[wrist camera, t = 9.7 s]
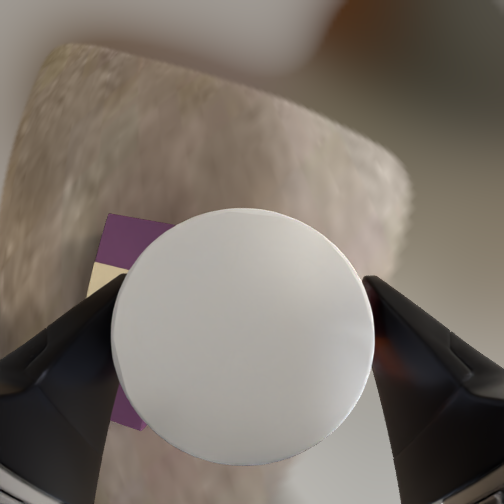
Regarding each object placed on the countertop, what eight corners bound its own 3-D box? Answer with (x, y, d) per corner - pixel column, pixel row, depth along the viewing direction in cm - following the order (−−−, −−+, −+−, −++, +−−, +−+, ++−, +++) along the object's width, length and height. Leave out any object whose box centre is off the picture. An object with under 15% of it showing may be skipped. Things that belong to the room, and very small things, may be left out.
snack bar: (156, 417, 14) (141, 431, 12) (92, 395, 15) (70, 403, 12) (191, 240, 17) (181, 225, 14) (125, 227, 17) (107, 212, 14)
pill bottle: (300, 392, 15) (385, 497, 4) (182, 381, 15) (74, 467, 4) (310, 275, 16) (411, 190, 6) (193, 265, 16) (103, 164, 6)
